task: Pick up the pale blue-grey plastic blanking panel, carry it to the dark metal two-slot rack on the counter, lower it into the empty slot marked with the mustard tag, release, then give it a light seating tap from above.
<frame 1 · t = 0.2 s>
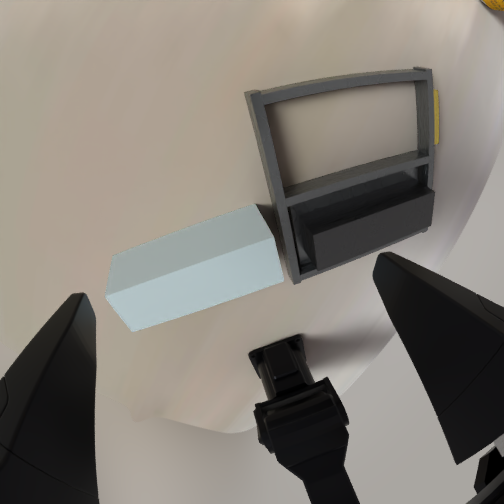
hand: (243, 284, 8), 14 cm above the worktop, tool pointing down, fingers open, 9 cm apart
rack: (352, 126, 21), on the worktop
panel: (189, 248, 24), on the worktop
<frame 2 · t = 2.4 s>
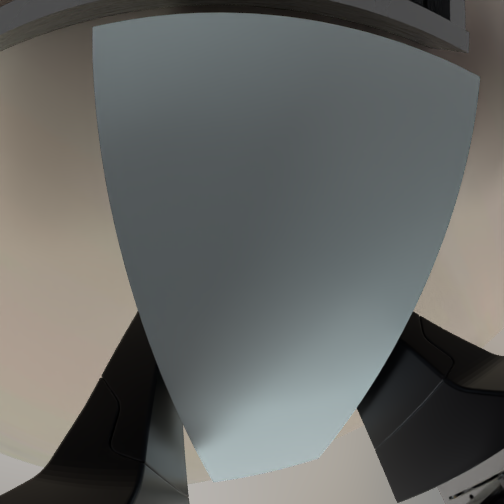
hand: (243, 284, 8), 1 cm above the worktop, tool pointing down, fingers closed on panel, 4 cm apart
panel: (235, 261, 9), on the worktop, touching gripper
when the fingers open (3 cm above the worktop, at t = 6.1 s): panel drops 2 cm, resting in rack.
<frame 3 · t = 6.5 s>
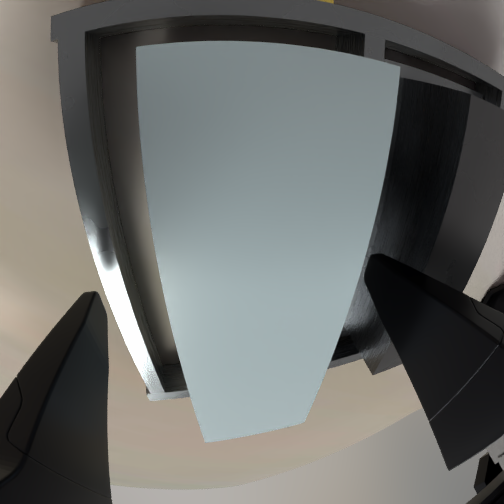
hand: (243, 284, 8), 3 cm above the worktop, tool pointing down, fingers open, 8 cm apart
rack: (226, 236, 10), on the worktop
panel: (227, 234, 11), resting in rack
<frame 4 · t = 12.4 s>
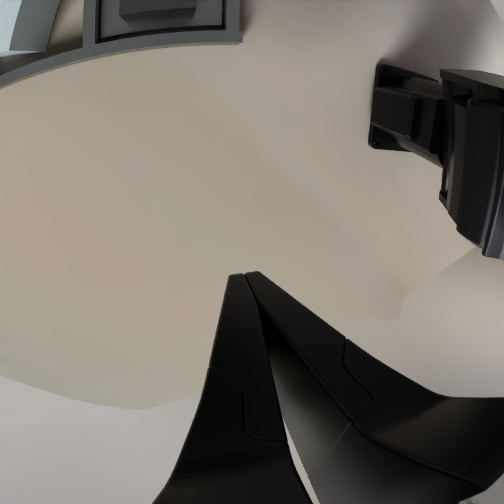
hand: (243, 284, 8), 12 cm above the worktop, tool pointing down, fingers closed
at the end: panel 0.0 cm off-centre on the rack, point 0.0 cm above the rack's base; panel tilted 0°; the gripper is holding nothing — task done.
